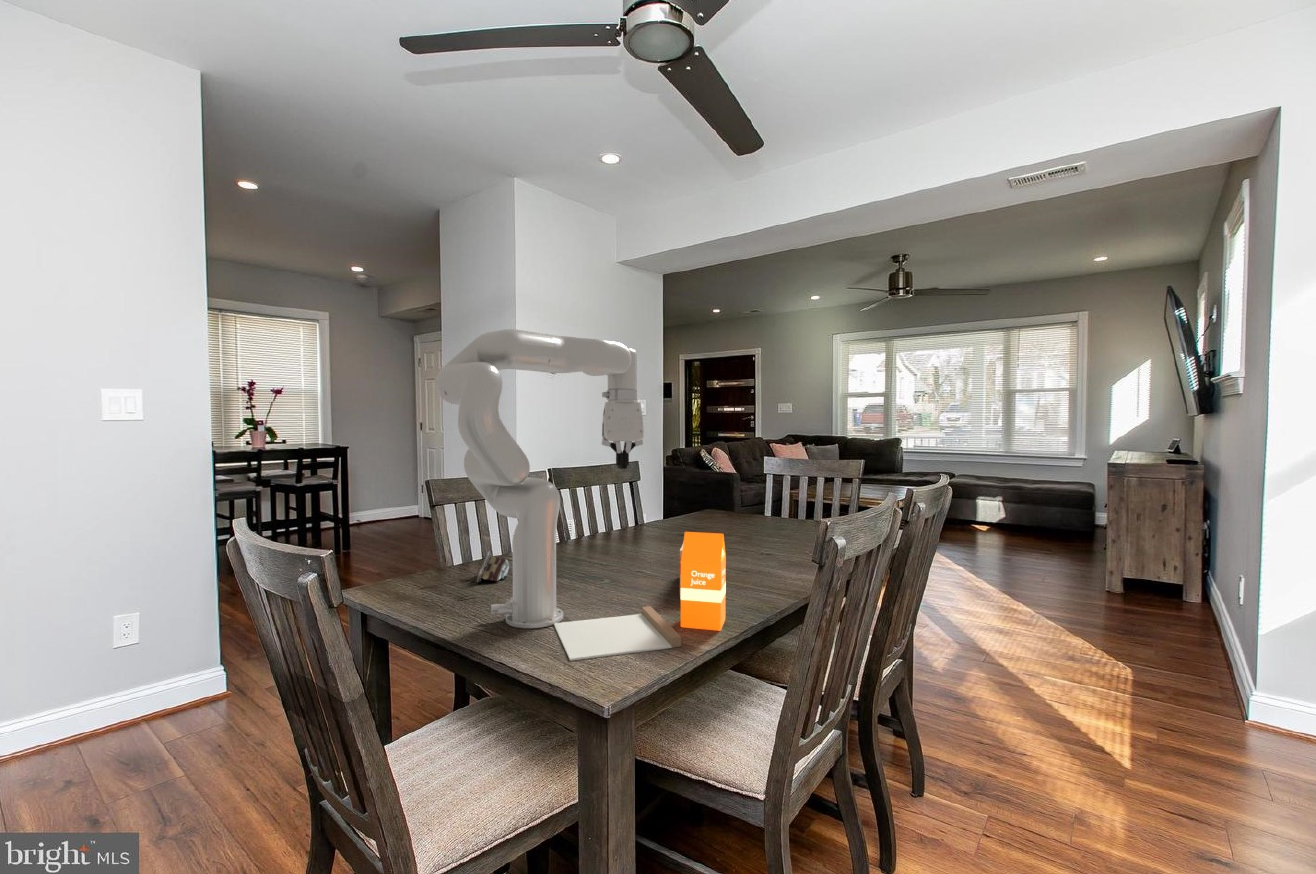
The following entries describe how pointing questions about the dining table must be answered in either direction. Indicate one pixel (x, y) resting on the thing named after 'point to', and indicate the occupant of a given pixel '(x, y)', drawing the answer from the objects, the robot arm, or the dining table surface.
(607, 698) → the dining table surface
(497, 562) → the chocolate cake
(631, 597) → the dining table surface
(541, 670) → the dining table surface
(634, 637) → the mat
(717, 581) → the orange juice
